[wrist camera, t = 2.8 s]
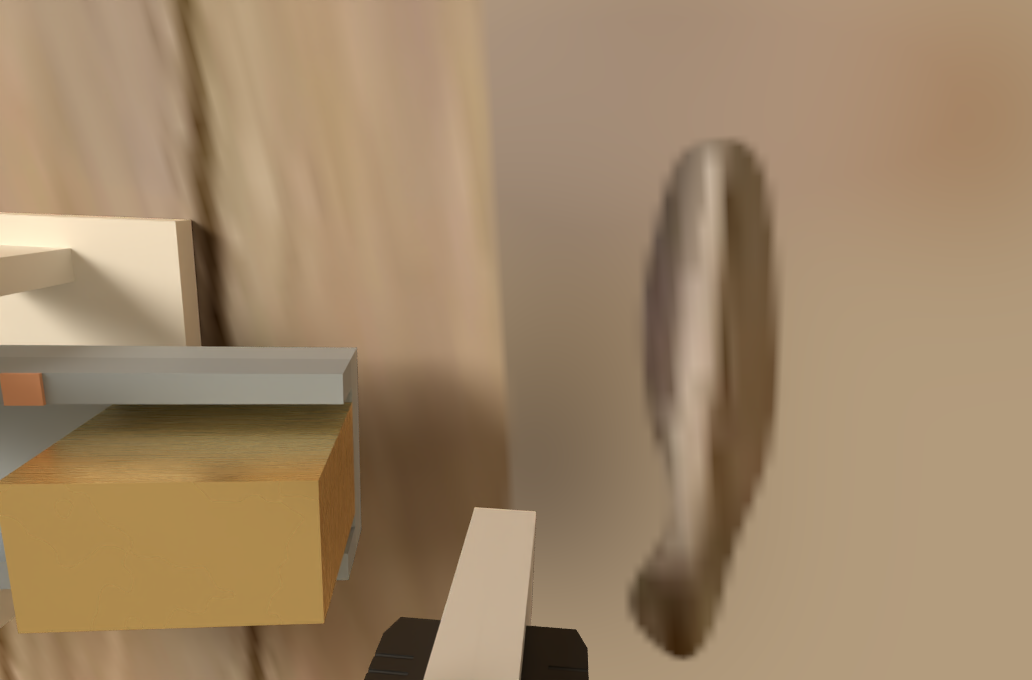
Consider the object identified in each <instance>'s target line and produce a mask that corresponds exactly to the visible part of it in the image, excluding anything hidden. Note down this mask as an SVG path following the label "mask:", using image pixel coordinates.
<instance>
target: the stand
mask: <svg viewBox="0 0 1032 680" xmlns="http://www.w3.org/2000/svg"><path fill="white" fill-rule="evenodd" d="M0 345H86V346H201V335H200V322H199V310H198V298H197V286H196V273H195V261H194V249H193V237H192V225H191V220H185V219H160V218H135V217H110V216H84V215H59V214H34V213H9V212H0ZM14 617H15V610H14V604H13V598H12V592H11V589H0V628H1V627H2V626H4V625H5V624H6V623H8V622H9V621H10V620H11V619H13V618H14Z"/></svg>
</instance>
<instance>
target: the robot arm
mask: <svg viewBox="0 0 1032 680" xmlns="http://www.w3.org/2000/svg"><path fill="white" fill-rule="evenodd" d="M535 529H536V511H523V510H509V509H494V508H480V507H475V508H474V511H473V515H472V518H471V521H470V525H469V528H468V531H467V535H466V538H465V542H464V545H463V548H462V552H461V555H460V558H459V562H458V565H457V568H456V572H455V575H454V578H453V582H452V585H451V588H450V592H449V595H448V599H447V602H446V605H445V609H444V612H443V615H442V619H441V620H430V619H418V618H406V617H400V618H399V619H398V620H397V621H396V622H395V623H394V624H393V625H392V626H391V627H390V628H389V629H388V630H386V631H385V632H384V633H383V636H382V638H381V641H380V643H379V645H378V648H377V650H376V653H375V657H373V660H372V662H371V665H370V667H369V671H368V673H367V674H366V677H365V679H364V680H589V677H588V653H587V651H588V650H587V647H586V645H585V643H584V642H583V640H582V638H581V637H580V635H579V633H578V632H577V630H575V629H562V628H549V627H537V626H530V625H531V614H532V595H533V573H534V551H535V550H534V549H535Z"/></svg>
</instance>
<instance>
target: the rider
mask: <svg viewBox="0 0 1032 680" xmlns="http://www.w3.org/2000/svg"><path fill="white" fill-rule="evenodd" d="M354 515H355V486H354V449H353V411H352V402H344V404H112V405H111V406H109V407H108V408H106V409H105V410H103V411H102V412H100V413H99V414H97V415H96V416H94V417H93V418H91V419H90V420H89V421H87V422H86V423H84V424H83V425H81V426H80V427H78V428H77V429H75V430H74V431H72V432H71V433H69V434H68V435H66V436H65V437H63V438H62V439H60V440H59V441H57V442H56V443H54V444H53V445H51V446H50V447H48V448H47V449H45V450H44V451H42V452H41V453H40V454H38V455H37V456H35V457H34V458H32V459H31V460H29V461H28V462H26V463H25V464H23V465H22V466H20V467H19V468H17V469H16V470H14V471H13V472H11V473H10V474H8V475H7V476H5V477H4V478H2V479H1V480H0V527H1V533H2V539H3V544H4V550H5V556H6V562H7V568H8V574H9V580H10V586H11V592H12V598H13V604H14V610H15V616H16V622H17V628H18V633H46V632H76V631H106V630H136V629H166V628H196V627H227V626H257V625H287V624H317V623H324V622H325V618H326V614H327V611H328V607H329V604H330V600H331V597H332V593H333V590H334V586H335V583H336V579H337V576H338V572H339V569H340V565H341V561H342V558H343V554H344V551H345V547H346V544H347V540H348V537H349V533H350V530H351V526H352V523H353V519H354Z"/></svg>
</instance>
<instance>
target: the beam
mask: <svg viewBox="0 0 1032 680" xmlns="http://www.w3.org/2000/svg"><path fill="white" fill-rule="evenodd" d="M344 402H352V411H353V449H354V486H355V515H354V519H353V523H352V526H351V530H350V533H349V537H348V540H347V544H346V547H345V551H344V554H343V558H342V561H341V565H340V569H339V572H338V576H337V579H336V580H349V577H350V573H351V569H352V565H353V561H354V557H355V553H356V549H357V545H358V541H359V537H360V533H361V491H360V449H359V408H358V367H357V348H329V347H208V346H86V345H0V480H1V479H2V478H4V477H5V476H7V475H8V474H10V473H11V472H13V471H14V470H16V469H17V468H19V467H20V466H22V465H23V464H25V463H26V462H28V461H29V460H31V459H32V458H34V457H35V456H37V455H38V454H40V453H41V452H42V451H44V450H45V449H47V448H48V447H50V446H51V445H53V444H54V443H56V442H57V441H59V440H60V439H62V438H63V437H65V436H66V435H68V434H69V433H71V432H72V431H74V430H75V429H77V428H78V427H80V426H81V425H83V424H84V423H86V422H87V421H89V420H90V419H91V418H93V417H94V416H96V415H97V414H99V413H100V412H102V411H103V410H105V409H106V408H108V407H109V406H111V405H112V404H344ZM0 589H11V586H10V580H9V574H8V568H7V562H6V556H5V550H4V544H3V539H2V533H1V527H0Z"/></svg>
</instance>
